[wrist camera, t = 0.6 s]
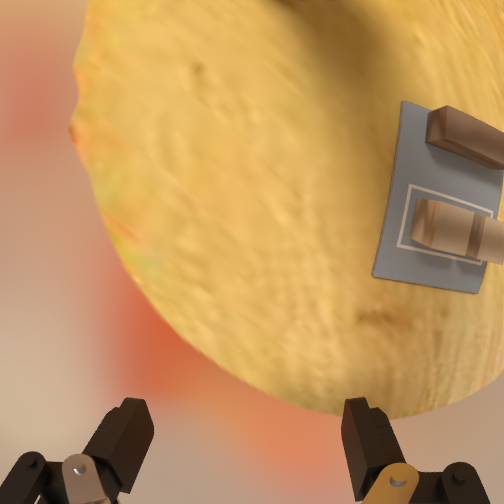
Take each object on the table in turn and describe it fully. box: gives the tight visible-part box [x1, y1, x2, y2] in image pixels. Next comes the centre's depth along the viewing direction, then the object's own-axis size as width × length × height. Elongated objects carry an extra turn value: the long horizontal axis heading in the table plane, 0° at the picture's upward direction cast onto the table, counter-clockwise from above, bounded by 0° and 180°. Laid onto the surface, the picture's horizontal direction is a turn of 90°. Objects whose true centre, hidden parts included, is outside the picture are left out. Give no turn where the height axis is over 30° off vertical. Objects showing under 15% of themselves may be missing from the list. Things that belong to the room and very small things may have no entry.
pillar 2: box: [466, 214, 504, 265], centre depth 31 cm, size 5×5×6 cm
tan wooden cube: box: [409, 198, 475, 256], centre depth 31 cm, size 5×5×6 cm
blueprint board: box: [371, 101, 504, 294], centre depth 33 cm, size 22×18×1 cm
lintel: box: [425, 105, 504, 170], centre depth 29 cm, size 4×12×5 cm, turn 80°
